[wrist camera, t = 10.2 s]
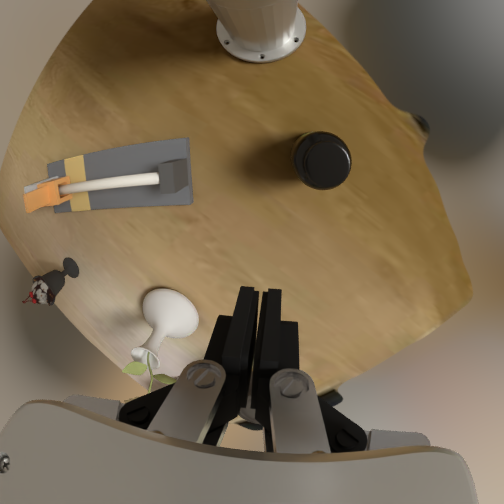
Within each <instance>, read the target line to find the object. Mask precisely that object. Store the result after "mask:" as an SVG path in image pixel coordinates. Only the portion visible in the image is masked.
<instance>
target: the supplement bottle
mask: <svg viewBox="0 0 504 504" xmlns="http://www.w3.org/2000/svg"><path fill="white" fill-rule="evenodd" d="M290 156H291V162H292V165H293V168H294V171H295V173H296V175H297V176H298V178H299V179H300V180H301V181H302V182H303V183H304V184H305V185H307V186H309V187H311V188H313V189H317V190H329V189H333V188H335V187H337V186H339V185H340V184H341V183H343V182H344V181H345V179H346V178H347V177H348V175H349V172H350V170H351V164H352V160H351V154H350V151H349V149H348V147H347V145H346V144H345V143H344V141H343V140H342V139H340V138H339V137H338V136H336V135H334V134H332V133H329V132H323V131H317V132H309V133H305V134H303V135H301V136H300V137H299V138H297V139H296V141H295V142H294V144H293V146H292V148H291V154H290Z"/></svg>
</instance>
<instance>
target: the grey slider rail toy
mask: <svg viewBox="0 0 504 504" xmlns="http://www.w3.org/2000/svg"><path fill="white" fill-rule="evenodd" d="M47 167H48V175H49V178H47V179H44V180H42V181H39V182H36V183H33V184H31V185H28V186H26V187H24V190H25V193H28V192H30V191H33V190H35V189H38V188H37V185H38V184H40V183H43V182H46V181H49V180H51V179H56V178H60V177H65V176H69V177H70V184H66V185H61V186H58V189H59V195H64V194H71V193H72V197H73V198H72V199H70V200H67V201H65V202H63V203H61V204H59V205H53V206H54V211H55V213H59V212H70V211H84V210H94V209H108V208H123V207H141V206H164V205H191V204H192V203H193V191H192V178H191V164H190V147H189V138H180V139H171V140H163V141H155V142H148V143H141V144H135V145H129V146H123V147H118V148H112V149H107V150H102V151H98V152H93V153H89V154H84V155H80V156H76V157H72V158H68V159H64V160H60V161H57V162H53V163H49V164H47ZM40 208H41V207H40ZM38 209H39V208H38Z"/></svg>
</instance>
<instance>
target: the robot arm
mask: <svg viewBox="0 0 504 504" xmlns="http://www.w3.org/2000/svg"><path fill="white" fill-rule="evenodd" d="M206 1H207V2H208V4H209V5H210V7H211V8H212V10H213V11H214V13H215V14H216V16H217V17H218V20H217V26H216V31H217V36H218V39H219V41H220V43H221V44H222V46H223V47H224V48H225V49H226V50H227V51H228V52H229V53H230V54H232V55H233V56H235V57H237V58H239V59H241V60H244V61H248V62H254V63H268V62H274V61H277V60H281V59H283V58H285V57H287V56H289V55H290V54H292V53H293V52H294V51H296V49H297V48H298V47H299V46H300V45H301V43H302V41H303V40H304V36H305V32H306V21H305V18H304V16H303V14H302V12H301V11H300V9H299V8H298V7H297V2H298V0H206ZM294 41H297V43H296V42H294ZM227 43H229V44H228V45H226V44H227ZM261 57H264V59H260V58H261ZM281 292H282V290H281V289H268V292H263V295H262V303H261V310H260V317H259V324H258V331H257V317H258V300H259V291H254V287H245V286H241V287H240V291H239V295H238V298H237V302H236V306H235V310H234V313H233V316H225V315H219V316H218V318H217V321H216V324H215V327H214V330H213V333H212V336H211V339H210V342H209V345H208V348H207V351H206V354H205V357H204V360H197V361H194V362H192V363H190V364H188V365H187V366H186V367H185V368H184V370H183V371H182V373H181V375H180V376H179V378H178V379H177V381H176V382H175V383H173V384H170V385H168V386H166V387H163V388H161V389H159V390H156V391H154V392H151V393H149V394H146V395H144V396H141V397H139V398H136V399H134V400H131V401H129V402H127V403H126V404H123V403H121V402H120V401H118V400H108V399H102V398H94V397H88V396H83V395H71V396H69V397H67V398H66V399H65V400H64V401H63V402H61V401H55V400H43V399H42V400H32V401H29V402H26V403H25V404H23V405H22V406H21V407H20V408H19V409H18V410H17V411H16V412H15V413H14V414H13V415H12V417H11V418H10V419H9V421H8V422H7V423H6V425H5V426H4V428H3V429H2V431H1V433H0V504H478V499H477V494H476V489H475V485H474V482H473V478H472V475H471V473H470V470H469V467H468V465H467V464H466V462H465V460H464V459H463V457H462V456H461V455H460V454H459V453H457V452H455V451H453V450H450V449H446V448H442V447H437V446H430V441H429V440H428V438H427V437H426V436H425V435H423V434H422V433H417V432H398V431H386V430H375V429H372V430H371V431H364V430H363V429H362V428H361V427H360V426H358V425H357V424H355V423H354V422H352V421H351V420H350V419H348V418H347V417H345V416H344V415H343V414H341V413H340V412H339V411H337V410H336V409H335V408H333V407H332V406H331V405H329V404H328V403H327V402H325V401H324V400H323V399H321V398H320V397H319V396H317V394H316V390H315V386H314V382H313V380H312V378H311V377H310V376H309V375H308V374H307V373H305V372H303V371H302V370H299V338H298V322H292V321H281ZM256 333H257V338H256ZM253 359H254V361H253ZM252 366H253V375H252V391H251V407H250V409H256V410H255V419H256V420H257V421H258V422H259V423H260V424H261V425H262V426H263V439H264V452H258V451H247V450H239V449H231V448H224V447H219V446H220V444H221V441H222V439H223V436H224V434H225V431H226V429H227V427H228V422H229V421H230V420H232V419H234V418H236V417H237V415H240V409H241V408H246V405H247V399H248V392H249V386H250V379H251V372H252Z"/></svg>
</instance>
